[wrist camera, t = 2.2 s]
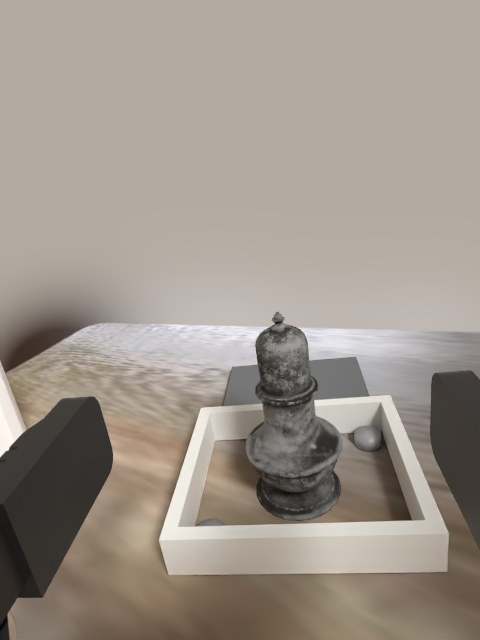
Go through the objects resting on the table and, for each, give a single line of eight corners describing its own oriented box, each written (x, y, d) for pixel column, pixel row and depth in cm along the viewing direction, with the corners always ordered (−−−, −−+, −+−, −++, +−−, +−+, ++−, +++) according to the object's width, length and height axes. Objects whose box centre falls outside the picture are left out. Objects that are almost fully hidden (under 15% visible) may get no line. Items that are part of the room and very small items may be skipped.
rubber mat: (356, 362, 41) (355, 357, 41) (371, 409, 34) (371, 403, 34) (233, 372, 43) (232, 366, 43) (222, 419, 36) (221, 413, 35)
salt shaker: (246, 466, 30) (218, 304, 26) (327, 449, 30) (314, 287, 26) (261, 534, 24) (229, 343, 20) (360, 512, 25) (350, 321, 20)
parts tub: (390, 424, 32) (390, 395, 31) (447, 572, 21) (448, 533, 20) (206, 434, 34) (201, 407, 33) (168, 575, 23) (158, 540, 22)
